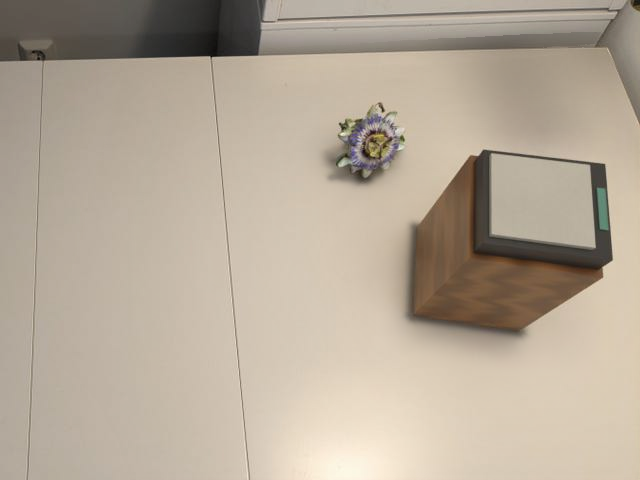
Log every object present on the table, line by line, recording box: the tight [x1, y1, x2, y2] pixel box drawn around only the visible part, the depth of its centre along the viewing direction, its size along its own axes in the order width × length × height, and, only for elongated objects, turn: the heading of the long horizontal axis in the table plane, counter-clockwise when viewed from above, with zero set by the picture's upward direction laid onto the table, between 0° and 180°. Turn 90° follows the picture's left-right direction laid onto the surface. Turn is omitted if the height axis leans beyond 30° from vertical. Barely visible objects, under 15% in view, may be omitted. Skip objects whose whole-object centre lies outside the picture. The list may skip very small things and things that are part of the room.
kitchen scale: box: [474, 148, 614, 270], centre depth 70 cm, size 15×14×3 cm
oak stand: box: [412, 154, 604, 332], centre depth 80 cm, size 16×16×18 cm
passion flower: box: [334, 101, 407, 179], centre depth 93 cm, size 11×11×12 cm
